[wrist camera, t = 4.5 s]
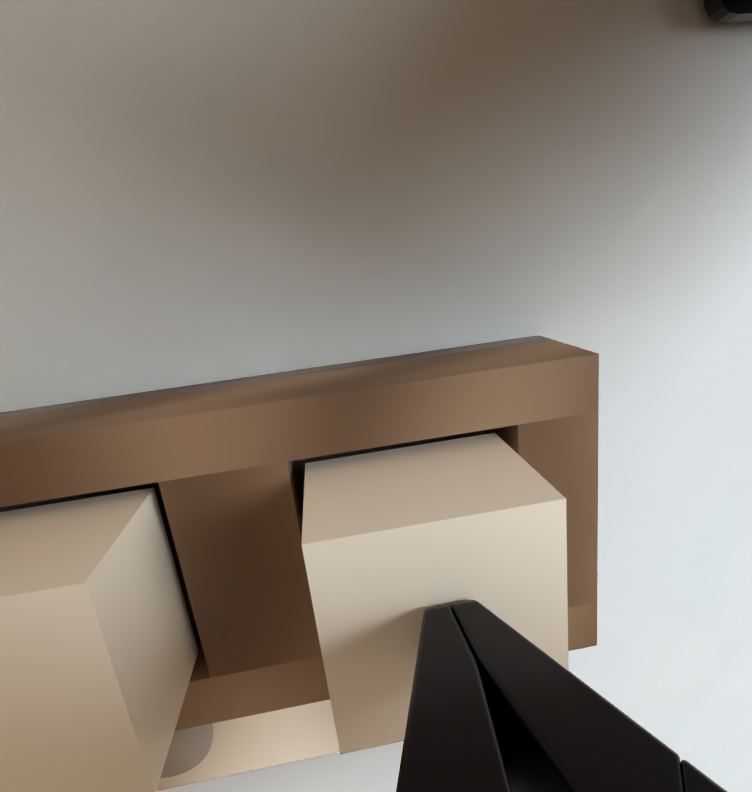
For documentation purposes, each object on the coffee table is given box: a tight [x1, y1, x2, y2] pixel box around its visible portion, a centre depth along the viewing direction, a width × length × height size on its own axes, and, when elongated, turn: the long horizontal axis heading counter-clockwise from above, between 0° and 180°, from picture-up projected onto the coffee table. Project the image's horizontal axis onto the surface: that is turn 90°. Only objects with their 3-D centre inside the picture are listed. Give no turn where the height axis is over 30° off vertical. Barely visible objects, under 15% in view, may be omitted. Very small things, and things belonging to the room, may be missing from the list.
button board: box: [0, 336, 599, 791], centre depth 11 cm, size 22×11×3 cm, turn 97°
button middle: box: [0, 488, 198, 792], centre depth 8 cm, size 4×4×3 cm
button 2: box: [301, 433, 569, 754], centre depth 9 cm, size 4×4×3 cm
